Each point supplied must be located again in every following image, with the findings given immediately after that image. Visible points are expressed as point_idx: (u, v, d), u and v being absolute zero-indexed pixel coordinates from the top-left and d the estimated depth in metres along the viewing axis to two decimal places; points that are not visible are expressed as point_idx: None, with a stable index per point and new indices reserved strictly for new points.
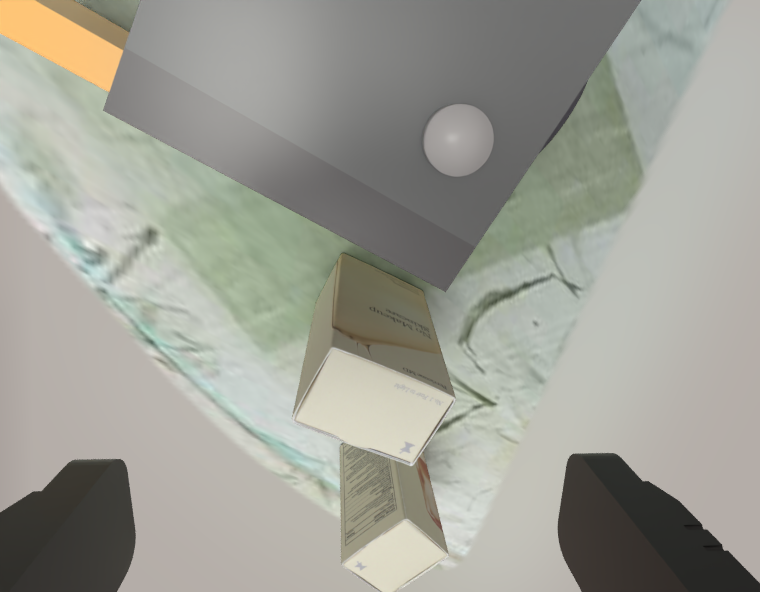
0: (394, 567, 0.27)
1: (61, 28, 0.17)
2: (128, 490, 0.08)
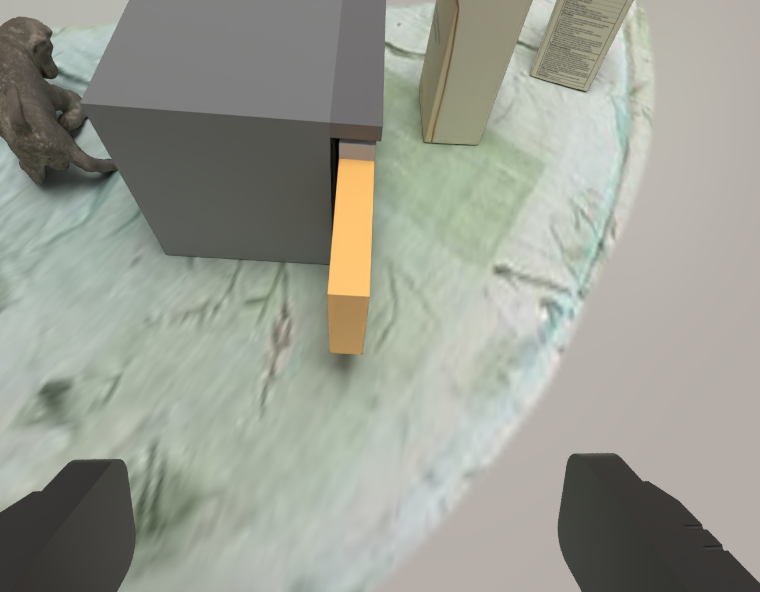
0: None
1: (344, 208, 0.20)
2: (128, 490, 0.08)
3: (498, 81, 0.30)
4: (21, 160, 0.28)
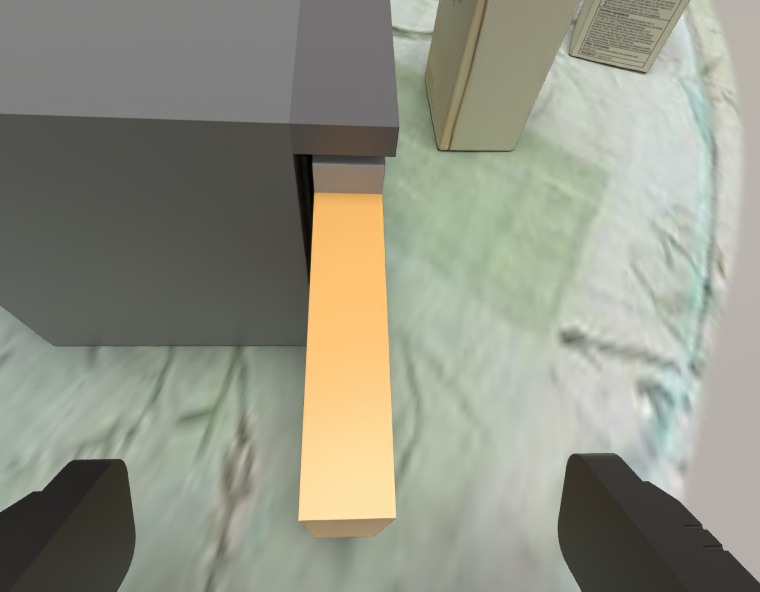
0: None
1: (328, 297, 0.10)
2: (128, 490, 0.08)
3: (551, 55, 0.20)
4: None
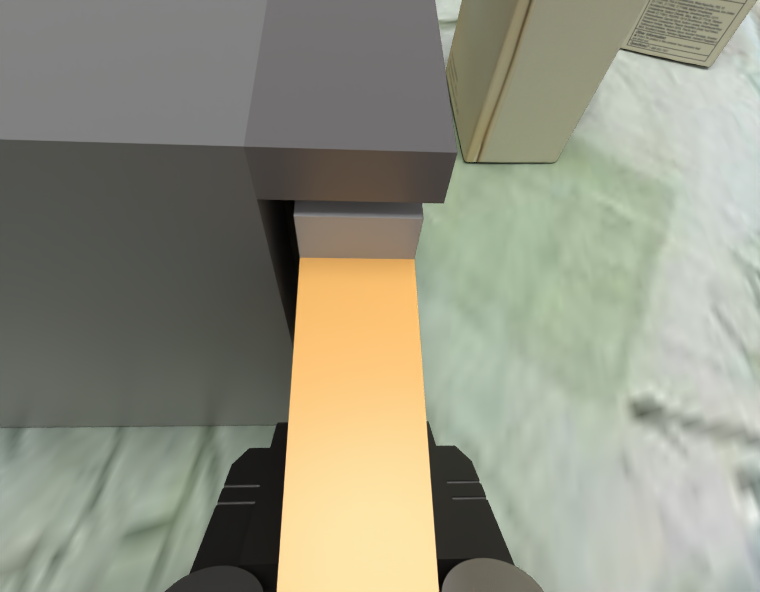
0: None
1: (321, 472, 0.05)
2: None
3: (617, 43, 0.16)
4: None
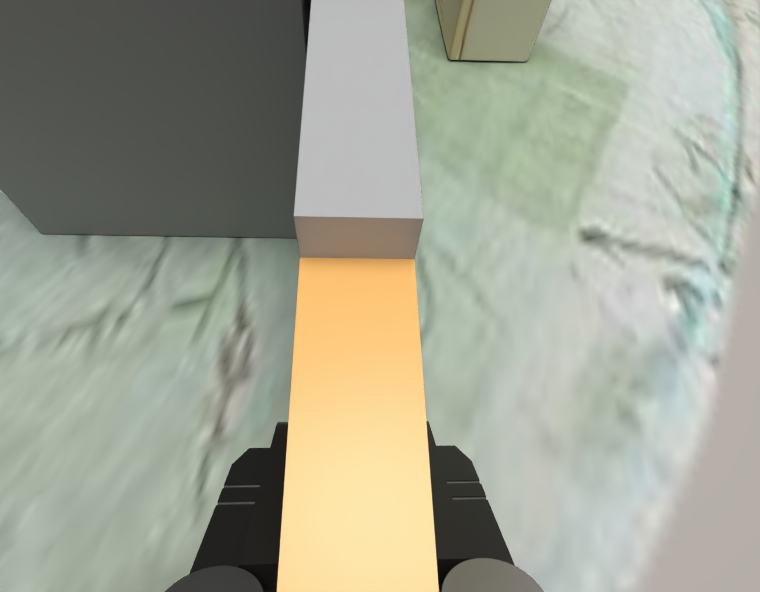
0: None
1: (321, 471, 0.05)
2: None
3: None
4: None
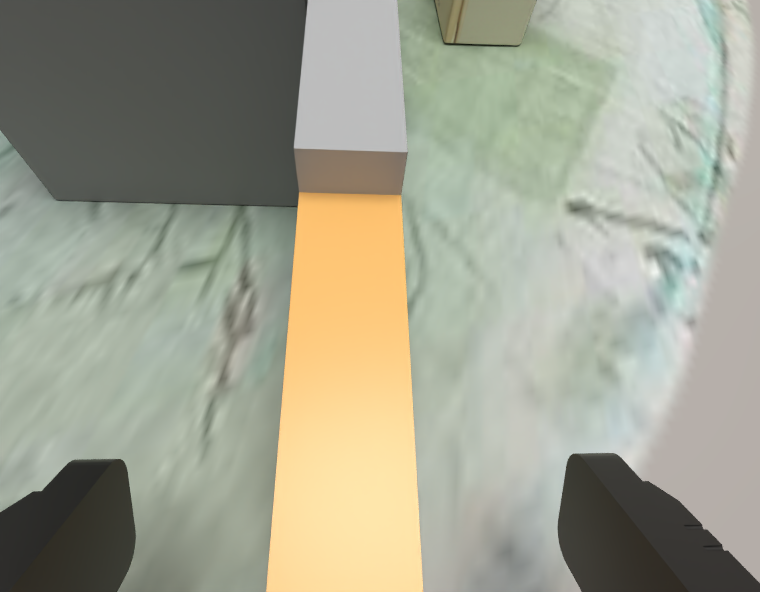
0: None
1: (316, 363, 0.06)
2: (128, 490, 0.08)
3: None
4: None
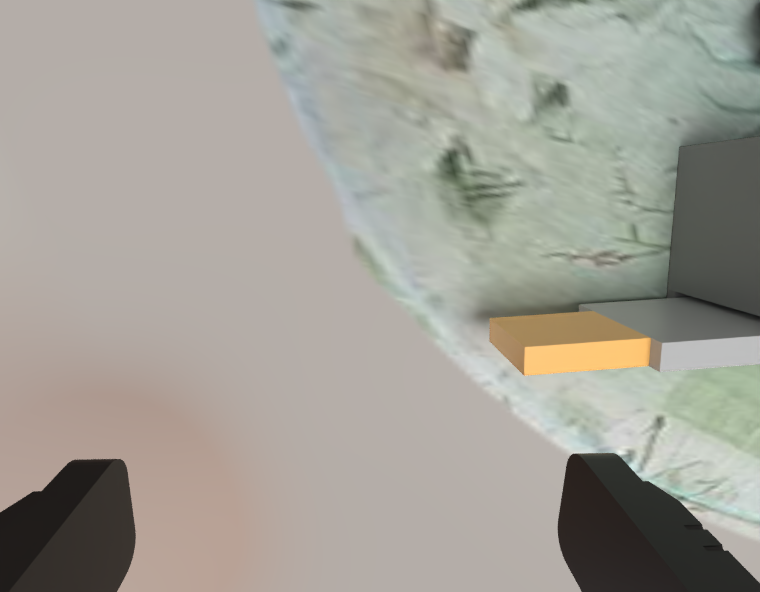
0: None
1: (600, 348, 0.25)
2: (128, 490, 0.08)
3: None
4: None
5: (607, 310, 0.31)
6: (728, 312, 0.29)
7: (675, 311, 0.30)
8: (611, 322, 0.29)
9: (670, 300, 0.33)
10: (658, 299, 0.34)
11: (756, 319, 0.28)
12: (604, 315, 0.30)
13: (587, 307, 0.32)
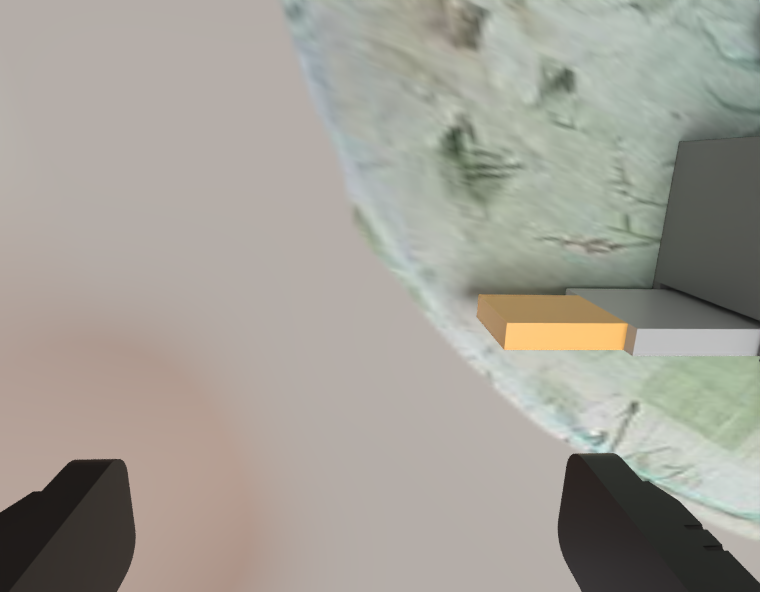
0: None
1: (578, 329, 0.27)
2: (128, 490, 0.08)
3: None
4: None
5: (592, 295, 0.32)
6: (707, 306, 0.31)
7: (657, 301, 0.31)
8: (593, 307, 0.30)
9: (654, 291, 0.34)
10: (643, 289, 0.35)
11: (732, 314, 0.29)
12: (588, 300, 0.31)
13: (573, 292, 0.33)
